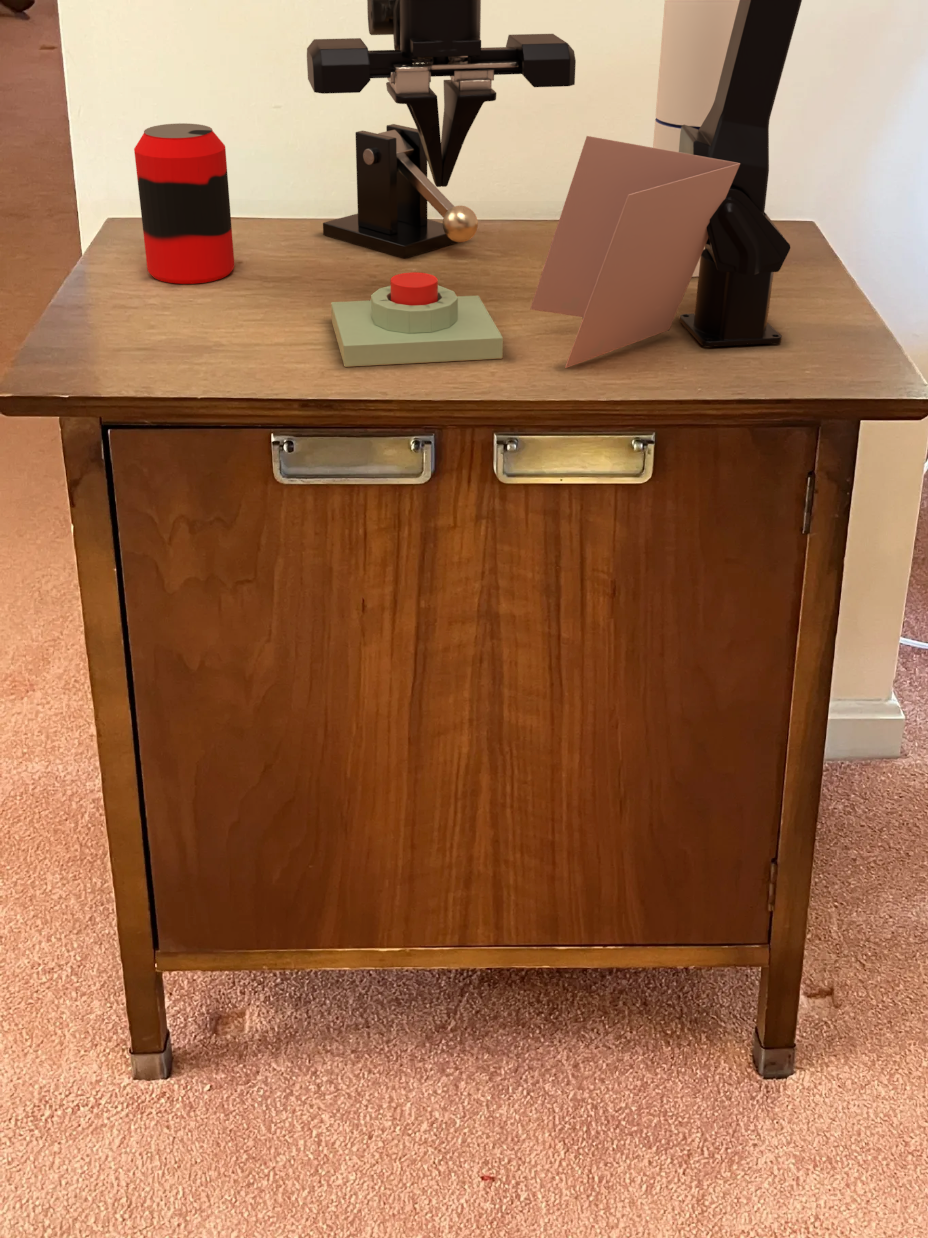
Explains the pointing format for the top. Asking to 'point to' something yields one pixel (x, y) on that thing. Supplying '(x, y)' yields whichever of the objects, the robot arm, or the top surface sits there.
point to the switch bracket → (389, 200)
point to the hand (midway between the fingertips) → (440, 185)
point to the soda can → (184, 203)
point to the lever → (435, 195)
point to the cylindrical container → (690, 66)
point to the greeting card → (629, 241)
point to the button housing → (415, 330)
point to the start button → (414, 289)
